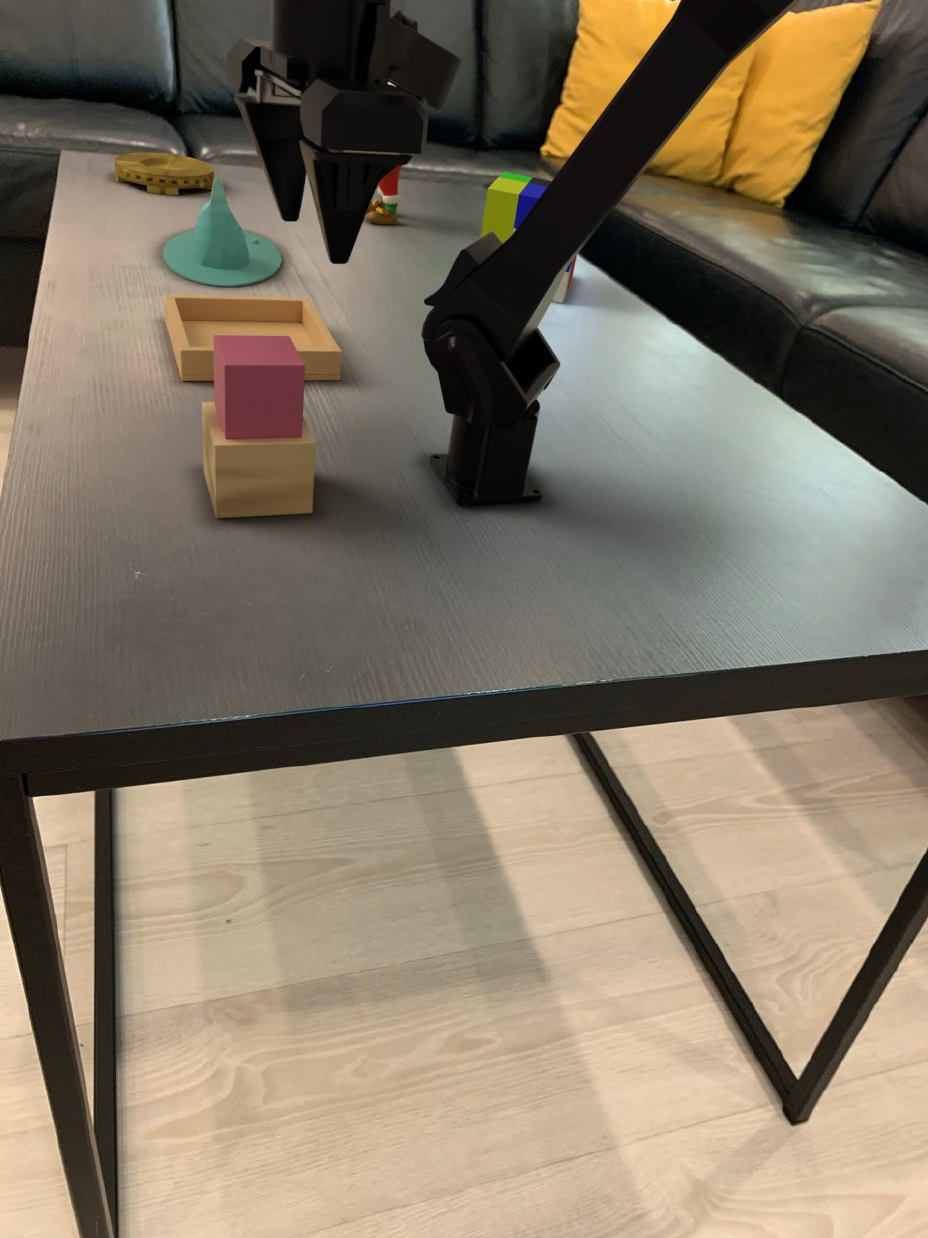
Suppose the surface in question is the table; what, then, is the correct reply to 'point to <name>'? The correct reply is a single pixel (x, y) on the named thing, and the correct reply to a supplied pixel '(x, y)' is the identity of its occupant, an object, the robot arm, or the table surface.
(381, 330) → the table surface
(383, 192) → the santa figurine
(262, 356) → the rose block
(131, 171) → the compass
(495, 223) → the puzzle toy
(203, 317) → the tray
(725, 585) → the table surface
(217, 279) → the teal cone with brim
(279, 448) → the base block
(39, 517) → the table surface
